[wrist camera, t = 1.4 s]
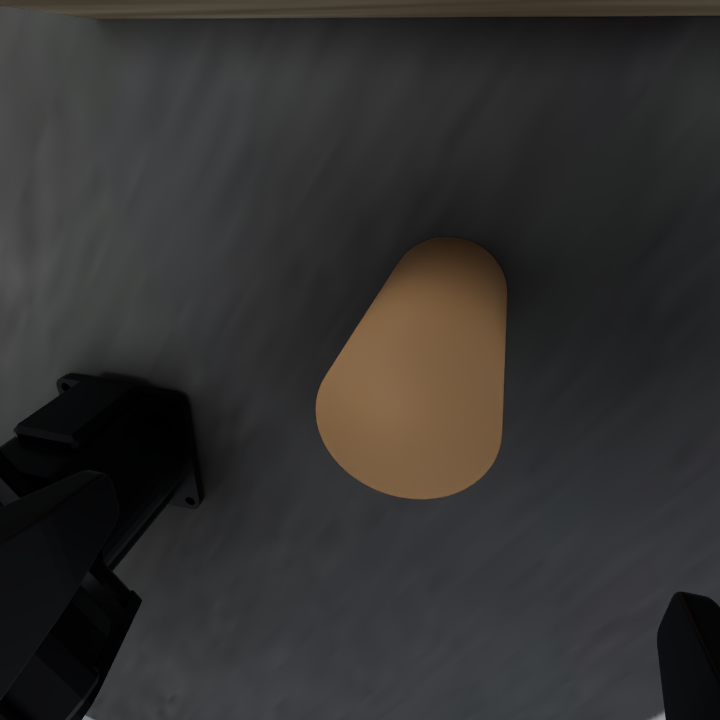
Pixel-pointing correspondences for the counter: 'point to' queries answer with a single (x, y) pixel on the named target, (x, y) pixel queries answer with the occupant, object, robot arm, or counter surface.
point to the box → (363, 8)
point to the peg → (422, 376)
